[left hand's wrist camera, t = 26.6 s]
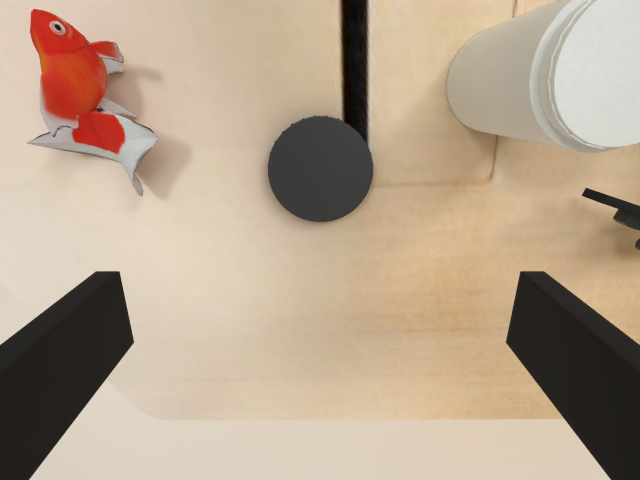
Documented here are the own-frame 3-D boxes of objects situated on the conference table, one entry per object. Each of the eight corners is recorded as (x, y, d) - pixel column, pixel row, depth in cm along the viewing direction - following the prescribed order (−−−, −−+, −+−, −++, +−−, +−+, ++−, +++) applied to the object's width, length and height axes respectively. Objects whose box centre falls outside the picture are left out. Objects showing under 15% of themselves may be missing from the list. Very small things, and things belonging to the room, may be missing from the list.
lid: (386, 192, 40) (389, 196, 38) (298, 232, 41) (297, 238, 40) (345, 96, 36) (347, 96, 35) (251, 144, 38) (248, 146, 36)
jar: (466, 14, 34) (595, -60, 18) (561, 40, 35) (766, -10, 19) (433, 120, 37) (517, 135, 21) (521, 141, 38) (666, 172, 22)
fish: (165, 7, 30) (62, 48, 23) (203, 171, 41) (141, 230, 34) (60, -10, 32) (-60, 23, 26) (123, 149, 43) (51, 201, 37)
